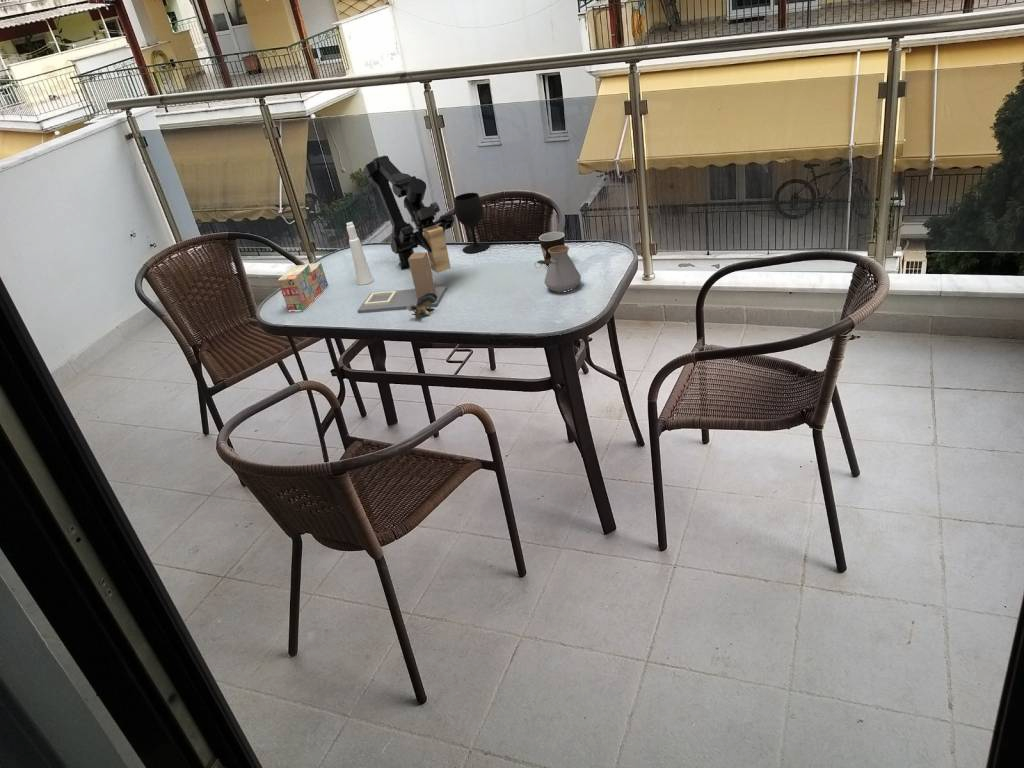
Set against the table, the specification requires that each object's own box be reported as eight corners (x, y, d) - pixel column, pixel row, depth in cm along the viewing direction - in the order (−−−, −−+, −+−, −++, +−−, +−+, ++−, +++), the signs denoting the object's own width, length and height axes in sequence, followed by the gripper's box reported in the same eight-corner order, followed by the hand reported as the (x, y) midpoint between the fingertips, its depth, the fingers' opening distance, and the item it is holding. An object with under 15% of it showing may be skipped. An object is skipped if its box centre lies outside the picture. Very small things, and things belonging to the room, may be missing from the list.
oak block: (430, 268, 255) (422, 228, 248) (444, 264, 257) (436, 224, 250) (437, 272, 251) (429, 232, 244) (450, 268, 253) (442, 227, 246)
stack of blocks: (313, 287, 278) (303, 255, 272) (328, 286, 276) (319, 254, 270) (288, 312, 260) (277, 279, 254) (305, 311, 258) (294, 277, 252)
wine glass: (462, 246, 291) (451, 195, 281) (488, 241, 291) (479, 190, 281) (463, 255, 281) (452, 202, 272) (491, 250, 282) (481, 197, 272)
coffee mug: (568, 267, 255) (565, 238, 250) (543, 270, 255) (538, 242, 251) (567, 255, 265) (563, 227, 260) (542, 258, 266) (538, 231, 261)
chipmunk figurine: (431, 318, 233) (443, 300, 239) (414, 301, 231) (427, 284, 237) (417, 328, 239) (430, 311, 244) (401, 312, 236) (414, 295, 242)
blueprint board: (371, 295, 261) (360, 254, 254) (447, 288, 255) (437, 246, 248) (358, 313, 249) (346, 270, 242) (436, 306, 243) (426, 262, 236)
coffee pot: (554, 279, 247) (547, 235, 240) (587, 280, 242) (581, 235, 235) (526, 308, 231) (519, 261, 224) (561, 309, 226) (555, 262, 219)
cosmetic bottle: (358, 286, 271) (341, 227, 260) (356, 281, 276) (339, 222, 265) (375, 282, 272) (359, 222, 261) (372, 277, 277) (356, 218, 266)
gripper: (394, 204, 242) (416, 245, 239) (446, 188, 249) (468, 228, 246) (390, 223, 252) (411, 262, 249) (440, 207, 259) (461, 245, 256)
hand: (438, 249), depth 250 cm, fingers closed on oak block, 5 cm apart
